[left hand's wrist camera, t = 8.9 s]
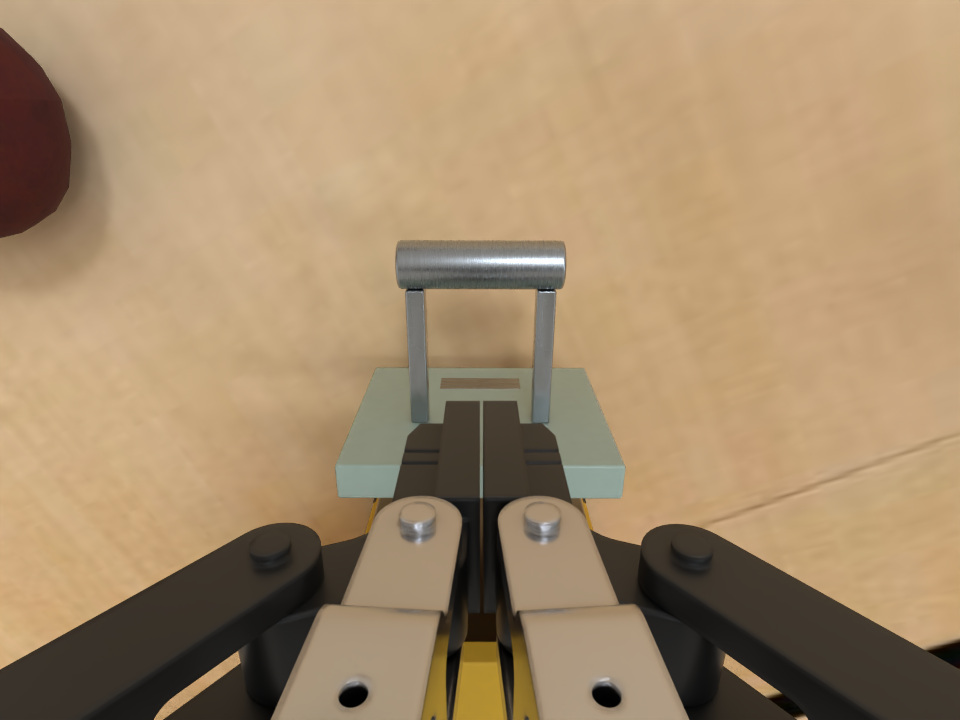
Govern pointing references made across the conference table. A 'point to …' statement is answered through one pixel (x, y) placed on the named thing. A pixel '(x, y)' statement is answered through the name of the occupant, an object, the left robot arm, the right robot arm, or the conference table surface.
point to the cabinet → (478, 671)
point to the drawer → (479, 383)
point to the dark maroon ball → (29, 141)
